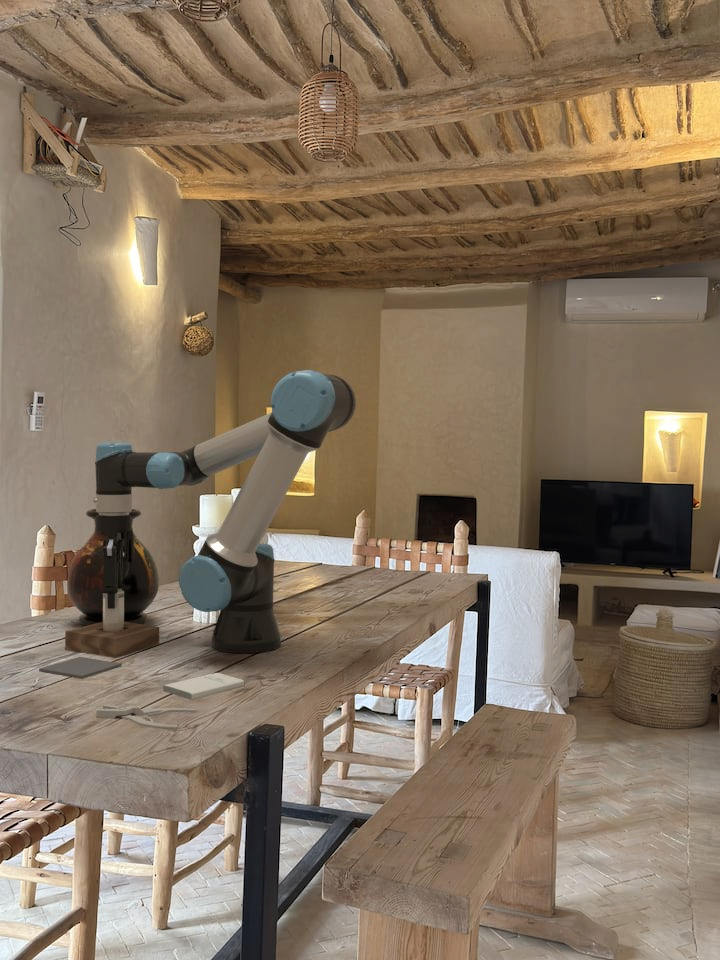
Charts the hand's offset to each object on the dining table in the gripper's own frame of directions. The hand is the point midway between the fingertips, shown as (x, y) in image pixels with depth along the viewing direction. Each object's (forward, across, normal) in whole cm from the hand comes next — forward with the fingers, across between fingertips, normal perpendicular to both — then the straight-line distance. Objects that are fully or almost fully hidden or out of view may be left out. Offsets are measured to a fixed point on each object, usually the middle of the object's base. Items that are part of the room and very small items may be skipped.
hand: (113, 620), depth 197 cm
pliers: (+7, +50, +12) cm, 52 cm away
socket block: (+6, 0, 0) cm, 6 cm away
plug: (+6, 0, 0) cm, 6 cm away
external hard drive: (+7, +34, +21) cm, 40 cm away
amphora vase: (+6, -24, -3) cm, 25 cm away
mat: (+6, +18, -4) cm, 19 cm away
